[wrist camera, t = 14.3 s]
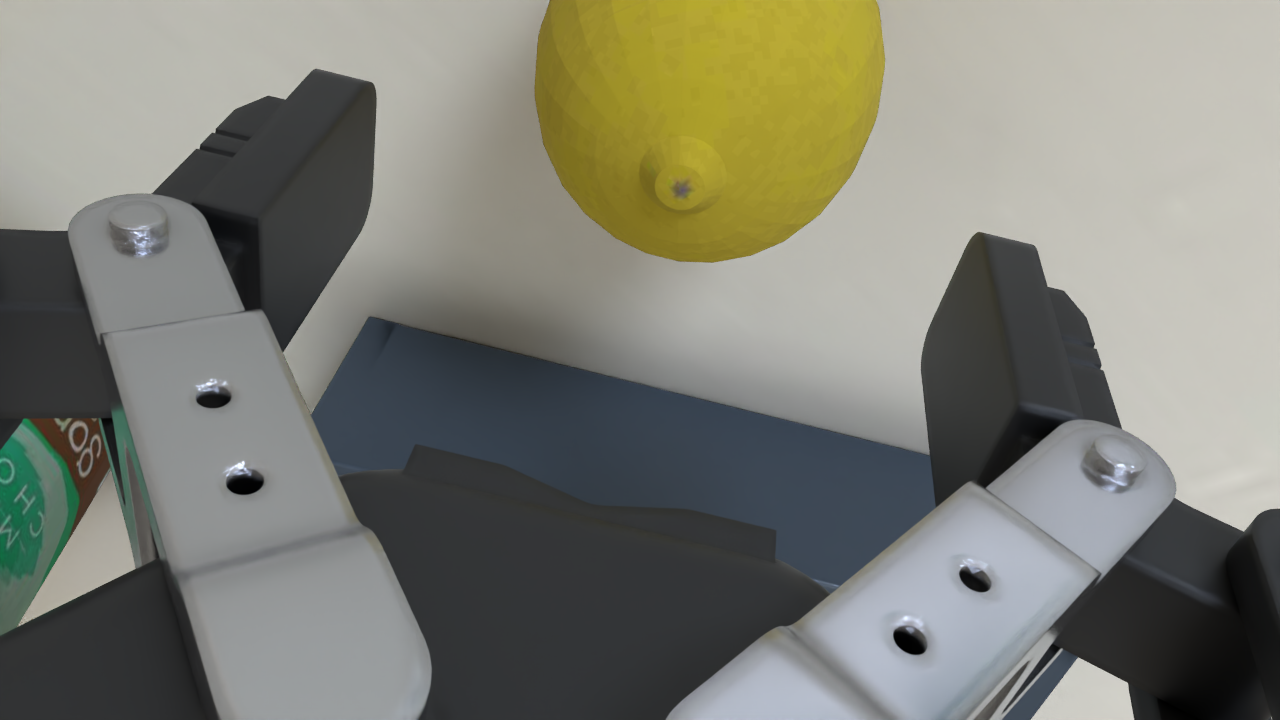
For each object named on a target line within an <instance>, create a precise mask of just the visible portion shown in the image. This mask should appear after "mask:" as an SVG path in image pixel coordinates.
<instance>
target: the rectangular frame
mask: <svg viewBox="0 0 1280 720" xmlns="http://www.w3.org/2000/svg"><path fill="white" fill-rule="evenodd" d="M311 417H312V419H313V422H314V424H315V426H316V428H317V430H318V433H319V435H320V437H321V439H322V442H323V444H324V446H325V448H326V451H327V453H328V455H329V457H330V459H331V462H332V464H333V466H334V468H335V471H336V473H337V475H338V476H340V475H344V474H348V473H355V472H361V471H368V470H383V469H404V468H405V466H406V464H407V461H408V459H409V457H410V454H411V452H412V450H413V448H414V445H415V444H418V445H423V446H427V447H431V448H435V449H439V450H444V451H448V452H452V453H456V454H460V455H465V456H469V457H473V458H477V459H481V460H485V461H490V462H494V463H498V464H502V465H505V466H508V467H510V468H512V469H514V470H516V471H519V472H521V473H523V474H525V475H527V476H529V477H532V478H534V479H536V480H538V481H540V482H543V483H545V484H547V485H549V486H551V487H554V488H556V489H558V490H560V491H562V492H564V493H567V494H569V495H571V496H573V497H575V498H578V499H580V500H582V501H584V502H587V503H590V504H594V505H602V506H627V507H652V508H677V509H690V510H695V511H699V512H703V513H707V514H711V515H716V516H720V517H724V518H728V519H732V520H736V521H741V522H745V523H749V524H753V525H757V526H762V527H766V528H770V529H774V530H777V533H776V553H775V558H776V559H778V560H780V561H782V562H785V563H787V564H789V565H790V566H792V567H794V568H795V569H797V570H799V571H801V572H802V573H804V574H806V575H807V576H808V577H810V578H811V579H813V580H814V581H815V582H817V583H818V584H820V585H821V586H822V587H824V588H825V589H826V590H827V591H828V592H829V593H833V592H834V591H835V590H836V589H838V588H839V587H840V586H841V585H842V584H844V583H845V582H846V581H847V580H848V579H850V578H851V577H852V576H853V575H855V574H856V573H857V572H858V571H859V570H861V569H862V568H863V567H864V566H866V565H867V564H868V563H869V562H870V561H872V560H873V559H874V558H875V557H877V556H878V555H879V554H880V553H881V552H883V551H884V550H885V549H886V548H888V547H889V546H890V545H891V544H892V543H894V542H895V541H896V540H897V539H899V538H900V537H901V536H902V535H903V534H905V533H906V532H907V531H908V530H909V529H911V528H912V527H913V526H914V525H916V524H917V523H918V522H919V521H920V520H922V519H923V518H924V517H925V516H927V515H928V514H929V513H930V512H931V511H933V510H934V509H935V508H936V505H935V496H934V486H933V477H932V468H931V458H930V456H929V455H925V454H921V453H917V452H913V451H909V450H905V449H901V448H897V447H892V446H888V445H884V444H880V443H876V442H872V441H868V440H864V439H860V438H856V437H852V436H848V435H844V434H840V433H836V432H832V431H828V430H824V429H820V428H816V427H812V426H807V425H803V424H799V423H795V422H791V421H787V420H783V419H779V418H775V417H771V416H767V415H763V414H759V413H755V412H751V411H747V410H743V409H739V408H735V407H731V406H726V405H722V404H718V403H714V402H710V401H706V400H702V399H698V398H694V397H690V396H686V395H682V394H678V393H674V392H670V391H666V390H662V389H658V388H654V387H650V386H645V385H641V384H637V383H633V382H629V381H625V380H621V379H617V378H613V377H609V376H605V375H601V374H597V373H593V372H589V371H585V370H581V369H577V368H573V367H569V366H565V365H560V364H556V363H552V362H548V361H544V360H540V359H536V358H532V357H528V356H524V355H520V354H516V353H512V352H508V351H504V350H500V349H496V348H492V347H488V346H484V345H479V344H475V343H471V342H467V341H463V340H459V339H455V338H451V337H447V336H443V335H439V334H435V333H431V332H427V331H423V330H419V329H415V328H411V327H407V326H403V325H399V324H397V323H393V322H389V321H385V320H381V319H377V318H373V317H369V318H368V319H367V321H366V323H365V324H364V326H363V328H362V330H361V331H360V333H359V335H358V336H357V338H356V340H355V341H354V343H353V345H352V347H351V348H350V350H349V352H348V353H347V355H346V357H345V358H344V360H343V362H342V363H341V365H340V367H339V369H338V370H337V372H336V374H335V375H334V377H333V379H332V380H331V382H330V384H329V386H328V387H327V389H326V391H325V392H324V394H323V396H322V397H321V399H320V401H319V403H318V404H317V406H316V408H315V409H314V411H313V413H312V414H311ZM1077 658H1078V657H1077V656H1075V655H1073V654H1071V653H1069V652H1067V651H1065V650H1062V651H1061V653H1060V654H1059V655H1058V656H1057V657H1056V659H1055V660H1054V661H1053V662H1052V663H1051V664H1050V665H1049V667H1048V668H1047V669H1046V670H1045V671H1044V672H1043V673H1042V675H1041V676H1040V677H1039V678H1038V679H1037V680H1036V681H1035V682H1034V684H1033V685H1032V686H1031V687H1030V688H1029V689H1028V690H1027V692H1026V693H1025V694H1024V695H1023V696H1022V697H1021V698H1020V700H1019V701H1018V702H1017V703H1016V704H1015V705H1014V706H1013V707H1012V709H1011V710H1010V711H1009V712H1008V713H1007V714H1006V715H1005V717H1004V718H1003V719H1002V720H1031V718H1032V717H1033V716H1034V714H1035V713H1036V712H1037V710H1038V709H1039V708H1040V706H1041V705H1042V704H1043V703H1044V701H1045V700H1046V699H1047V697H1048V696H1049V695H1050V693H1051V692H1052V691H1053V689H1054V688H1055V687H1056V685H1057V684H1058V683H1059V682H1060V680H1061V679H1062V678H1063V676H1064V675H1065V674H1066V672H1067V671H1068V670H1069V668H1070V667H1071V666H1072V664H1073V663H1074V662H1075V660H1076V659H1077Z"/></svg>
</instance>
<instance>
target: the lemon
mask: <svg viewBox="0 0 1280 720" xmlns="http://www.w3.org/2000/svg"><path fill="white" fill-rule="evenodd" d="M884 68H885V55H884V46H883V38H882V29H881V20H880V12H879V7H878V4H877V1H876V0H550V2H549V5H548V8H547V11H546V14H545V17H544V19H543V22H542V25H541V29H540V33H539V37H538V46H537V60H536V74H535V101H536V107H537V112H538V118H539V123H540V128H541V134H542V139H543V144H544V147H545V149H546V151H547V153H548V156H549V158H550V160H551V162H552V164H553V166H554V168H555V171H556V173H557V175H558V177H559V179H560V181H561V183H562V186H563V187H564V188H565V189H566V191H567V192H568V193H569V194H570V196H571V197H572V198H573V199H574V200H575V202H576V203H577V204H578V205H579V207H580V208H581V209H582V210H583V212H584V213H585V214H586V215H587V216H589V217H590V218H591V219H592V220H594V221H595V222H596V223H597V224H599V225H600V226H601V227H602V228H604V229H605V230H606V231H607V232H609V233H610V234H611V235H612V236H614V237H615V238H616V239H618V240H620V241H622V242H624V243H626V244H628V245H630V246H632V247H635V248H637V249H639V250H641V251H643V252H645V253H647V254H651V255H655V256H659V257H664V258H668V259H672V260H676V261H685V262H711V263H713V262H718V261H724V260H729V259H735V258H740V257H746V256H751V255H753V254H756V253H758V252H760V251H763V250H765V249H767V248H769V247H772V246H774V245H776V244H779V243H781V242H783V241H785V240H786V239H788V238H789V237H790V236H792V235H793V234H794V233H796V232H797V231H798V230H800V229H801V228H802V227H804V226H805V225H806V224H808V223H809V222H810V221H812V220H813V219H814V218H816V217H817V216H818V215H820V214H821V212H822V211H823V210H824V209H825V207H826V206H827V205H828V204H829V203H830V201H831V200H832V199H833V198H834V196H835V195H836V194H837V193H838V191H839V190H840V189H841V188H842V186H843V185H844V184H845V183H846V181H847V180H848V179H849V178H850V176H851V174H852V173H853V171H854V169H855V167H856V165H857V163H858V160H859V158H860V156H861V154H862V151H863V149H864V147H865V145H866V142H867V140H868V138H869V135H870V133H871V131H872V128H873V126H874V123H875V121H876V117H877V113H878V108H879V101H880V95H881V88H882V82H883V75H884Z"/></svg>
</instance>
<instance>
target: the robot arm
mask: <svg viewBox="0 0 1280 720" xmlns="http://www.w3.org/2000/svg"><path fill="white" fill-rule="evenodd" d="M375 125H376V90H375V86H374V84H373V83H372V82H369V81H364V80H360V79H356V78H352V77H348V76H344V75H340V74H336V73H332V72H328V71H323V70H319V69H315V70H313V71H312V72H311V73H310V74H309V75H308V76H307V77H306V78H305V79H304V80H303V81H302V82H301V83H300V85H299V86H298V87H297V88H296V89H295V90H294V91H293V92H292V93H291V94H290V95H289V97H288V98H287V99H286V100H284V99H280V98H276V97H271V96H266V97H264V98H262V99H259V100H257V101H254V102H252V103H249V104H247V105H245V106H242V107H240V108H237V109H235V110H234V111H233V112H232V113H231V114H230V115H229V116H228V117H227V118H226V119H225V120H224V121H223V122H222V123H221V124H220V125H219V126H218V127H217V128H216V132H215V133H211V134H210V135H209V136H208V138H207V139H206V140H205V141H204V142H203V143H202V144H201V145H200V149H196V150H195V151H194V152H193V153H192V154H191V155H190V156H189V157H188V158H187V159H186V160H185V161H184V162H183V163H182V164H181V165H180V166H179V167H178V168H177V169H176V170H175V171H174V172H173V173H172V174H171V175H170V176H169V177H168V178H167V179H166V180H165V181H164V182H163V183H162V184H161V185H160V186H159V187H158V188H157V189H156V190H155V191H154V192H153V193H152V194H126V195H119V196H114V197H110V198H106V199H103V200H100V201H97V202H94V203H92V204H90V205H88V206H86V207H85V208H83V209H82V210H81V211H79V212H78V213H77V214H76V215H75V216H74V217H73V218H72V220H71V222H70V223H69V227H68V231H35V230H10V229H0V450H1V449H2V447H3V446H4V445H5V444H6V442H7V441H8V440H9V438H10V437H11V436H12V434H13V433H14V432H15V431H16V429H17V428H18V427H19V425H20V424H21V423H22V421H23V419H51V418H98V419H99V425H100V429H101V433H102V437H103V441H104V444H105V448H106V452H107V456H108V459H109V463H110V467H111V471H112V474H113V478H114V482H115V486H116V489H117V493H118V497H119V501H120V504H121V508H122V512H123V516H124V520H125V523H126V527H127V531H128V535H129V539H130V543H131V548H132V552H133V557H134V562H135V567H136V569H135V570H133V571H131V572H129V573H126V574H124V575H122V576H120V577H118V578H116V579H114V580H112V581H110V582H108V583H106V584H104V585H102V586H100V587H98V588H96V589H94V590H92V591H90V592H88V593H86V594H84V595H82V596H80V597H78V598H76V599H74V600H71V601H69V602H67V603H65V604H63V605H61V606H59V607H57V608H55V609H53V610H51V611H49V612H47V613H45V614H43V615H41V616H39V617H37V618H35V619H33V620H31V621H29V622H27V623H25V624H23V625H21V626H18V627H16V628H14V629H12V630H10V631H8V632H6V633H4V634H2V635H0V720H1002V719H1003V718H1004V717H1005V715H1006V714H1007V713H1008V712H1009V711H1010V710H1011V709H1012V707H1013V706H1014V705H1015V704H1016V703H1017V702H1018V701H1019V700H1020V698H1021V697H1022V696H1023V695H1024V694H1025V693H1026V692H1027V690H1028V689H1029V688H1030V687H1031V686H1032V685H1033V684H1034V682H1035V681H1036V680H1037V679H1038V678H1039V677H1040V676H1041V675H1042V673H1043V672H1044V671H1045V670H1046V669H1047V668H1048V667H1049V665H1050V664H1051V663H1052V662H1053V661H1054V660H1055V659H1056V657H1057V656H1058V655H1059V654H1060V653H1061V651H1062V650H1065V651H1067V652H1069V653H1071V654H1073V655H1075V656H1077V657H1079V658H1081V659H1083V660H1085V661H1087V662H1089V663H1091V664H1093V665H1095V666H1097V667H1098V668H1100V669H1102V670H1104V671H1106V672H1108V673H1110V674H1112V675H1114V676H1116V677H1118V678H1120V679H1122V680H1124V681H1126V682H1128V685H1129V693H1130V698H1131V704H1132V709H1133V714H1134V720H1280V509H1270V510H1267V511H1264V512H1262V513H1260V514H1259V515H1258V516H1257V517H1256V518H1255V519H1254V520H1253V522H1252V523H1251V524H1250V525H1249V527H1248V528H1247V529H1246V530H1245V531H1244V532H1243V531H1241V530H1239V529H1237V528H1234V527H1232V526H1230V525H1228V524H1226V523H1224V522H1222V521H1219V520H1217V519H1215V518H1213V517H1211V516H1209V515H1207V514H1204V513H1202V512H1200V511H1198V510H1196V509H1194V508H1192V507H1190V506H1188V505H1186V504H1184V503H1182V502H1180V501H1179V500H1177V499H1176V498H1174V497H1175V494H1176V483H1175V479H1174V476H1173V474H1172V472H1171V470H1170V468H1169V467H1168V466H1167V464H1166V463H1165V461H1164V460H1163V459H1162V458H1161V457H1160V456H1159V455H1158V454H1157V453H1156V452H1155V451H1154V450H1153V449H1152V448H1151V447H1150V446H1148V445H1147V444H1146V443H1144V442H1143V441H1142V440H1140V439H1139V438H1137V437H1135V436H1134V435H1132V434H1130V433H1128V432H1126V431H1124V430H1122V427H1121V424H1120V421H1119V418H1118V415H1117V412H1116V409H1115V405H1114V402H1113V399H1112V396H1111V393H1110V390H1109V387H1108V383H1107V380H1106V377H1105V374H1104V371H1103V370H1100V368H1101V361H1100V358H1099V355H1098V352H1097V349H1094V345H1095V343H1094V340H1093V336H1092V333H1091V330H1090V327H1089V324H1088V321H1087V318H1086V316H1085V315H1084V314H1083V313H1082V312H1081V311H1080V309H1079V308H1078V307H1077V306H1076V305H1075V304H1074V302H1073V301H1072V300H1071V299H1070V298H1069V296H1068V295H1067V294H1066V293H1065V292H1064V291H1062V290H1058V289H1054V288H1050V287H1047V283H1046V280H1045V276H1044V273H1043V269H1042V266H1041V262H1040V259H1039V255H1038V251H1037V249H1036V247H1035V246H1034V245H1031V244H1027V243H1023V242H1019V241H1015V240H1011V239H1006V238H1002V237H998V236H994V235H990V234H986V233H982V232H977V233H976V234H975V235H974V236H973V237H972V238H971V240H970V241H969V243H968V244H967V246H966V248H965V250H964V253H963V255H962V257H961V259H960V261H959V263H958V266H957V268H956V270H955V272H954V274H953V276H952V279H951V281H950V283H949V285H948V287H947V289H946V292H945V294H944V296H943V298H942V300H941V302H940V305H939V307H938V309H937V311H936V313H935V315H934V318H933V320H932V322H931V324H930V327H929V329H928V332H927V335H926V339H925V342H924V347H923V352H922V359H921V375H922V384H923V393H924V403H925V412H926V421H927V430H928V440H929V449H930V458H931V468H932V477H933V486H934V496H935V505H936V508H935V509H934V510H933V511H931V512H930V513H929V514H928V515H927V516H925V517H924V518H923V519H922V520H920V521H919V522H918V523H917V524H916V525H914V526H913V527H912V528H911V529H909V530H908V531H907V532H906V533H905V534H903V535H902V536H901V537H900V538H899V539H897V540H896V541H895V542H894V543H892V544H891V545H890V546H889V547H888V548H886V549H885V550H884V551H883V552H881V553H880V554H879V555H878V556H877V557H875V558H874V559H873V560H872V561H870V562H869V563H868V564H867V565H866V566H864V567H863V568H862V569H861V570H859V571H858V572H857V573H856V574H855V575H853V576H852V577H851V578H850V579H848V580H847V581H846V582H845V583H844V584H842V585H841V586H840V587H839V588H838V589H836V590H835V591H834V592H833V593H829V592H828V591H827V590H826V589H825V588H824V587H822V586H821V585H820V584H818V583H817V582H815V581H814V580H813V579H811V578H810V577H808V576H807V575H806V574H804V573H802V572H801V571H799V570H797V569H795V568H794V567H792V566H790V565H789V564H787V563H785V562H782V561H780V560H778V559H776V558H775V553H776V533H777V530H774V529H770V528H766V527H762V526H757V525H753V524H749V523H745V522H741V521H736V520H732V519H728V518H724V517H720V516H716V515H711V514H707V513H703V512H699V511H695V510H690V509H677V508H652V507H627V506H602V505H594V504H590V503H587V502H584V501H582V500H580V499H578V498H575V497H573V496H571V495H569V494H567V493H564V492H562V491H560V490H558V489H556V488H554V487H551V486H549V485H547V484H545V483H543V482H540V481H538V480H536V479H534V478H532V477H529V476H527V475H525V474H523V473H521V472H519V471H516V470H514V469H512V468H510V467H508V466H505V465H502V464H498V463H494V462H490V461H485V460H481V459H477V458H473V457H469V456H465V455H460V454H456V453H452V452H448V451H444V450H439V449H435V448H431V447H427V446H423V445H418V444H415V445H414V448H413V450H412V452H411V454H410V457H409V459H408V461H407V464H406V466H405V468H404V469H383V470H368V471H361V472H355V473H348V474H344V475H340V476H338V475H337V473H336V471H335V468H334V466H333V464H332V462H331V459H330V457H329V455H328V453H327V451H326V448H325V446H324V444H323V442H322V439H321V437H320V435H319V433H318V430H317V428H316V426H315V424H314V422H313V419H312V417H311V415H310V413H309V410H308V408H307V406H306V404H305V401H304V399H303V397H302V395H301V393H300V390H299V388H298V386H297V384H296V381H295V379H294V377H293V375H292V372H291V370H290V368H289V366H288V364H287V361H286V359H285V357H284V355H283V352H284V350H285V348H286V347H287V345H288V344H289V342H290V341H291V339H292V338H293V336H294V335H295V333H296V331H297V330H298V328H299V327H300V325H301V324H302V322H303V321H304V319H305V317H306V316H307V314H308V313H309V311H310V310H311V308H312V307H313V305H314V304H315V302H316V300H317V299H318V297H319V296H320V294H321V293H322V291H323V290H324V288H325V287H326V285H327V283H328V282H329V280H330V279H331V277H332V276H333V274H334V273H335V271H336V270H337V268H338V266H339V265H340V263H341V262H342V260H343V259H344V257H345V256H346V254H347V253H348V251H349V249H350V248H351V246H352V245H353V243H354V242H355V240H356V239H357V237H358V235H359V234H360V232H361V230H362V228H363V226H364V224H365V221H366V218H367V215H368V211H369V207H370V203H371V197H372V189H373V170H374V147H375ZM1271 716H1272V719H1271Z"/></svg>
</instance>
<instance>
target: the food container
mask: <svg viewBox="0 0 1280 720" xmlns="http://www.w3.org/2000/svg"><path fill="white" fill-rule="evenodd" d="M110 470H111V467H110V463H109V459H108V456H107V452H106V448H105V444H104V441H103V437H102V433H101V429H100V425H99V419H98V418H51V419H23V421H22V423H21V424H20V425H19V427H18V428H17V429H16V431H15V432H14V433H13V434H12V436H11V437H10V438H9V440H8V441H7V442H6V444H5V445H4V446H3V447H2V449H1V450H0V635H2V634H4V633H6V632H8V631H10V630H12V629H14V628H16V627H17V626H18V624H19V622H20V621H21V619H22V617H23V616H24V614H25V612H26V611H27V609H28V607H29V606H30V604H31V602H32V601H33V599H34V597H35V596H36V594H37V592H38V591H39V589H40V587H41V586H42V584H43V582H44V581H45V579H46V577H47V575H48V574H49V572H50V570H51V569H52V567H53V565H54V564H55V562H56V560H57V559H58V557H59V555H60V554H61V552H62V550H63V549H64V547H65V545H66V544H67V542H68V540H69V539H70V537H71V535H72V534H73V532H74V530H75V529H76V527H77V525H78V524H79V522H80V520H81V519H82V517H83V515H84V514H85V512H86V510H87V509H88V507H89V505H90V503H91V502H92V500H93V498H94V497H95V495H96V493H97V492H98V490H99V488H100V487H101V485H102V483H103V482H104V480H105V478H106V477H107V475H108V473H109V472H110Z"/></svg>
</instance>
